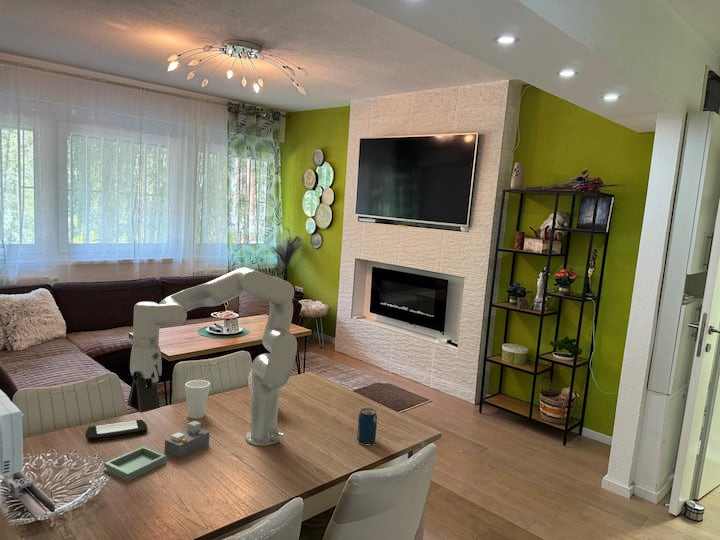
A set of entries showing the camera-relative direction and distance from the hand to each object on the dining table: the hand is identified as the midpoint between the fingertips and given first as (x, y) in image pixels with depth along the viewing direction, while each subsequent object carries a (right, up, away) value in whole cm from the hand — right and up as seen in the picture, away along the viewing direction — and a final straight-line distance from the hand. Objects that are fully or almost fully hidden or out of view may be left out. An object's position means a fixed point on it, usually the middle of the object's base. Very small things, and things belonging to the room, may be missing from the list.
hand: (143, 396), depth 155 cm
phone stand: (0, -3, 0) cm, 3 cm away
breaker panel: (+10, -21, +12) cm, 26 cm away
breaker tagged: (+8, -18, +9) cm, 22 cm away
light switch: (-19, -19, +21) cm, 34 cm away
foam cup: (+3, -18, +40) cm, 44 cm away
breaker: (+11, -16, +15) cm, 24 cm away
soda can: (+71, -24, +28) cm, 80 cm away
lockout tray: (-2, -22, -2) cm, 22 cm away
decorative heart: (+27, -18, +53) cm, 62 cm away
